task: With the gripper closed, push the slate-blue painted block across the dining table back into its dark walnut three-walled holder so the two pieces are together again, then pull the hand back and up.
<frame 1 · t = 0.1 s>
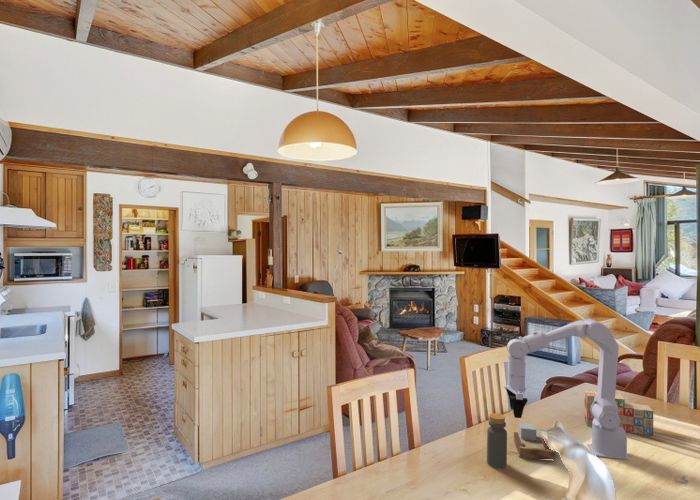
hand: (515, 413, 145), 10 cm above the table, tool pointing down, fingers open, 7 cm apart
block: (527, 437, 150), on the table
bottle: (496, 464, 130), on the table
stack of blocks: (617, 428, 158), on the table
holder: (532, 449, 140), on the table
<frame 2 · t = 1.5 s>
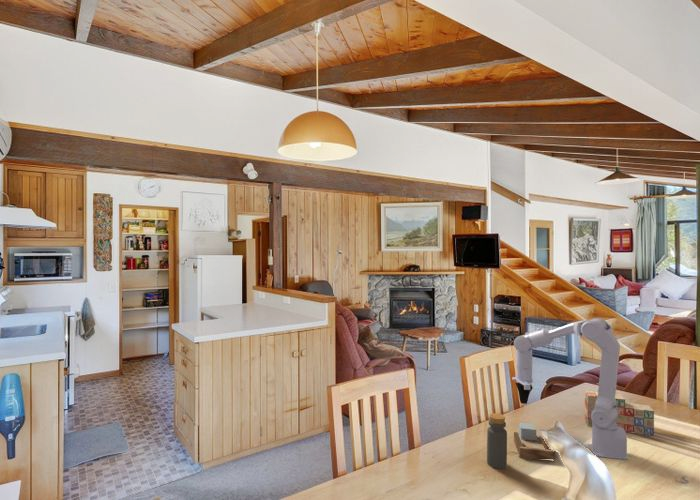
hand: (523, 403, 157), 9 cm above the table, tool pointing down, fingers closed
nothing on the table moved.
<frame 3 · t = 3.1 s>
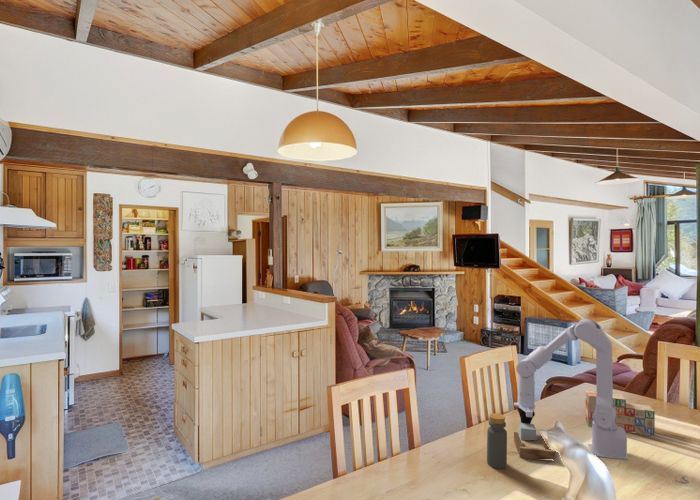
hand: (525, 429, 153), 1 cm above the table, tool pointing down, fingers closed
block: (527, 437, 149), on the table, touching gripper
everything else where it was.
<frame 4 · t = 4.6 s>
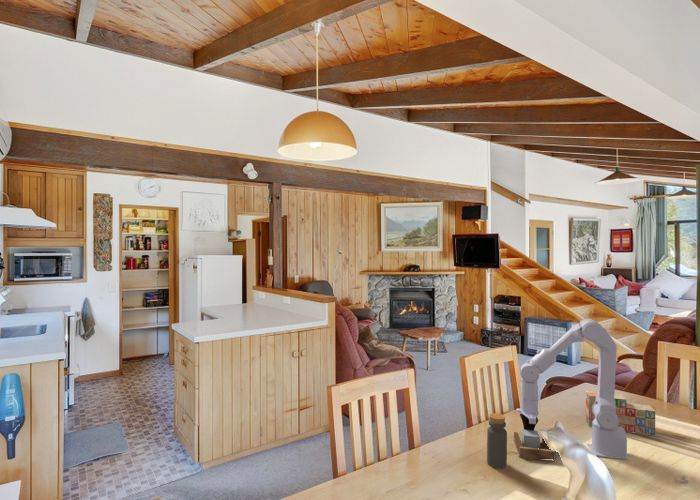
hand: (528, 436, 147), 1 cm above the table, tool pointing down, fingers closed
block: (530, 444, 143), on the table, touching gripper
everything else where it was.
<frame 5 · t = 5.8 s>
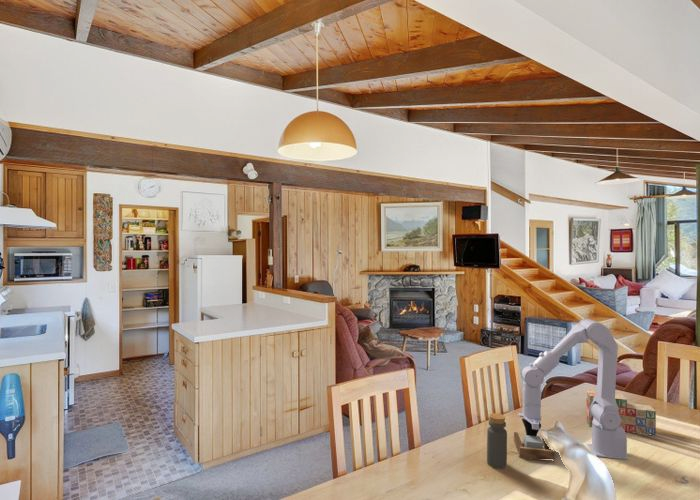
hand: (531, 442, 143), 1 cm above the table, tool pointing down, fingers closed
block: (533, 450, 139), on the table, touching gripper
everything else where it was.
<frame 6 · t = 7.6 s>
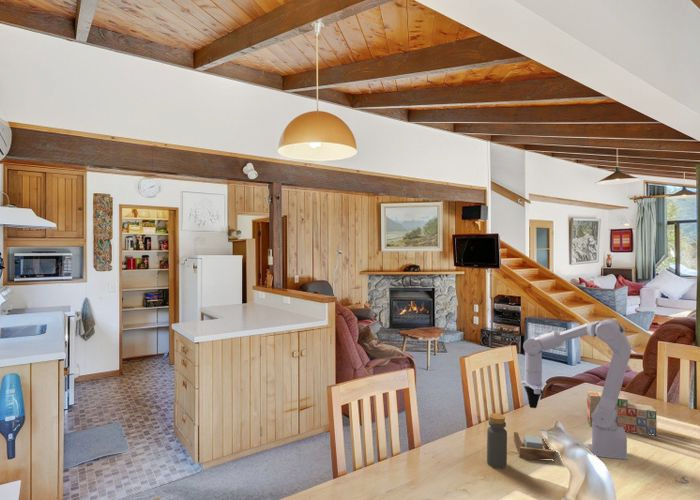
hand: (532, 407, 153), 9 cm above the table, tool pointing down, fingers closed
block: (533, 451, 139), on the table
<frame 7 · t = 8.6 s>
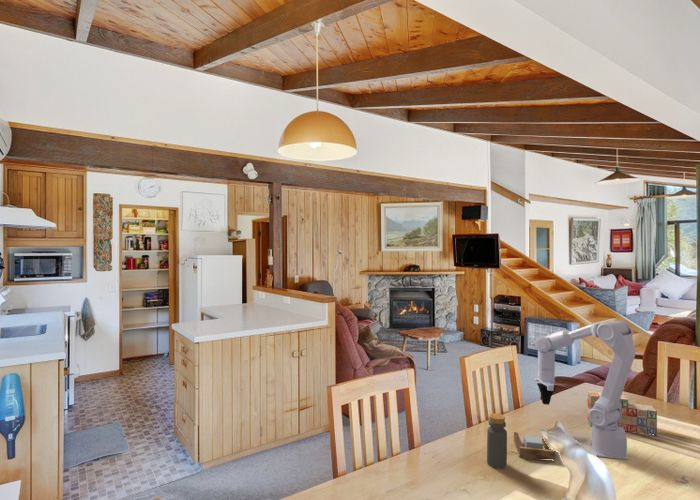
hand: (545, 403, 157), 9 cm above the table, tool pointing down, fingers closed
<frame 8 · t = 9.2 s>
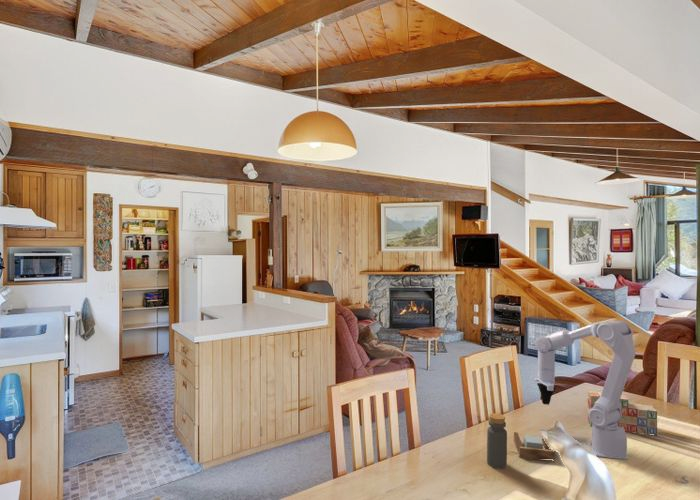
hand: (545, 403, 157), 9 cm above the table, tool pointing down, fingers closed
at the end: block 0.1 cm from the target spot on the holder, point 0.0 cm above the holder's base; block tilted 0°; block moved 10.9 cm from its start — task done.
